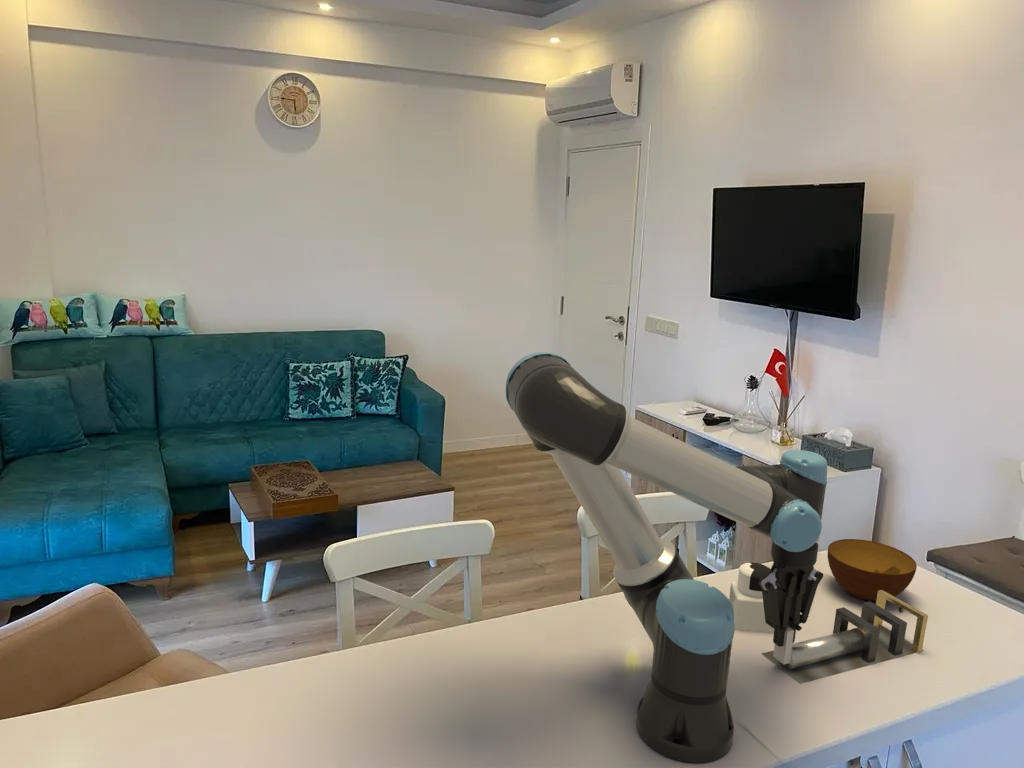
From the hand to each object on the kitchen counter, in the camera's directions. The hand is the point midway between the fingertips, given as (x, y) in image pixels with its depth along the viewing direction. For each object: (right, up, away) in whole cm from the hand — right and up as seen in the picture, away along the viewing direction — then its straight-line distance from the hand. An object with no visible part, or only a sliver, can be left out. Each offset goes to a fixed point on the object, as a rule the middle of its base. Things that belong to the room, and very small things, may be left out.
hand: (781, 659), depth 135 cm
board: (+14, -2, +7) cm, 16 cm away
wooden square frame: (+27, 0, +12) cm, 29 cm away
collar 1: (+16, -1, +7) cm, 18 cm away
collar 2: (+23, -1, +10) cm, 25 cm away
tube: (+10, -1, +5) cm, 11 cm away
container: (-1, 0, +17) cm, 17 cm away
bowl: (+29, +2, +30) cm, 42 cm away
